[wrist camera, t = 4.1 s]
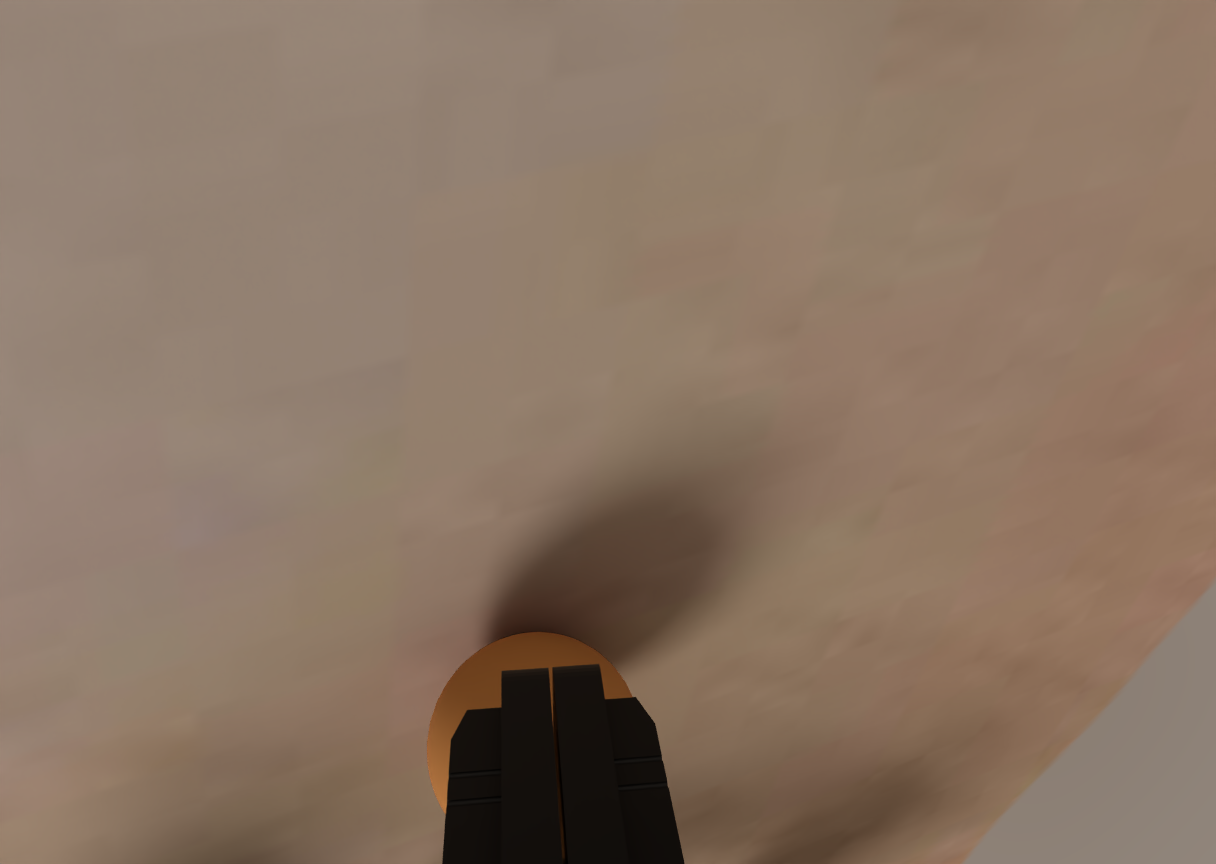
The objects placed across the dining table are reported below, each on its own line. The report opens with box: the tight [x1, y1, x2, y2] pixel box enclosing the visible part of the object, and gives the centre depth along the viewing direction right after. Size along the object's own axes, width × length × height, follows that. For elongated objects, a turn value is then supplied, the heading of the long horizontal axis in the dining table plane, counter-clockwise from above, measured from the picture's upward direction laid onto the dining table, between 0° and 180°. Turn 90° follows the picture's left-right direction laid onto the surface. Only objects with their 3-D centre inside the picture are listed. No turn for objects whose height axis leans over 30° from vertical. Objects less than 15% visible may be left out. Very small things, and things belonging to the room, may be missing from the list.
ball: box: [427, 632, 632, 814], centre depth 23 cm, size 6×6×6 cm
